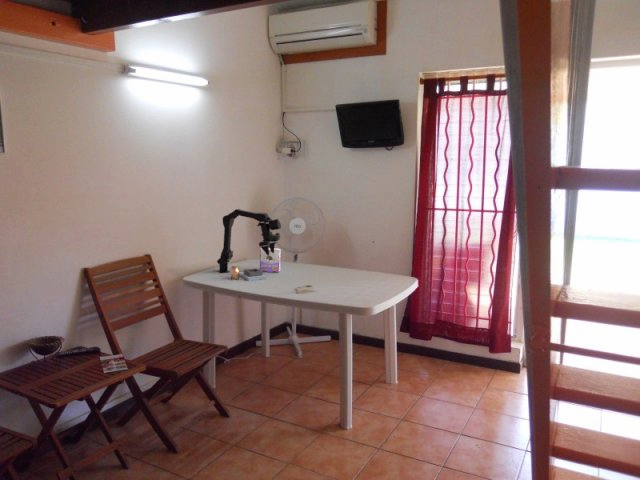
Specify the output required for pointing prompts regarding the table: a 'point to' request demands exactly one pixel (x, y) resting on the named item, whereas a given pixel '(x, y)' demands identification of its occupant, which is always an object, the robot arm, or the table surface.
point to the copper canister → (234, 272)
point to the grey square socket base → (252, 274)
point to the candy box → (270, 260)
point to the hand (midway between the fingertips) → (270, 254)
